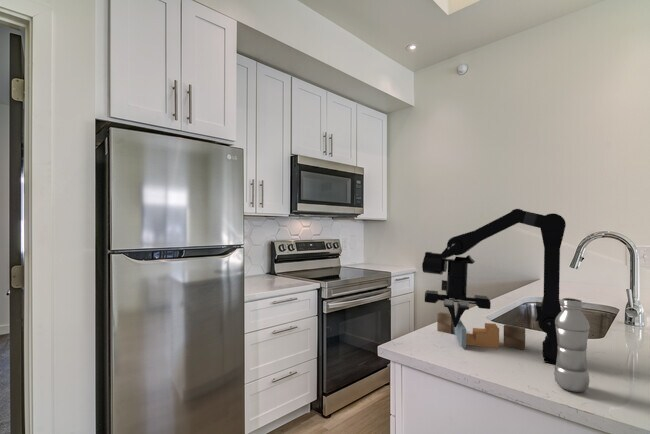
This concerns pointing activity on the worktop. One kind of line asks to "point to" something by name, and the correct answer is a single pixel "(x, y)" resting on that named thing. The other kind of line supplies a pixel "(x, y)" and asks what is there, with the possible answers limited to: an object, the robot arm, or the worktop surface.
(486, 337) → the orange stepped block
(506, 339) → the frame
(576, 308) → the silver bottle
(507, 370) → the worktop surface
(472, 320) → the worktop surface
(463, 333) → the grey piece
